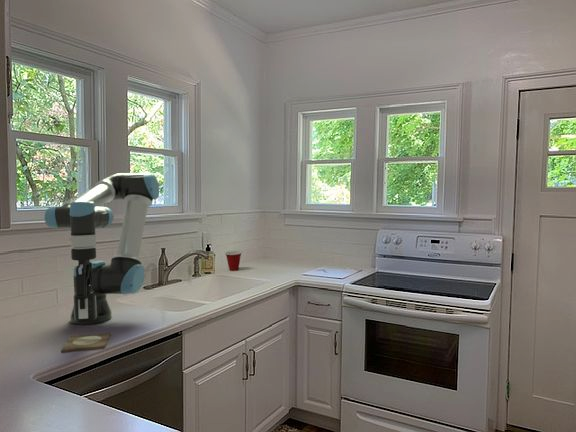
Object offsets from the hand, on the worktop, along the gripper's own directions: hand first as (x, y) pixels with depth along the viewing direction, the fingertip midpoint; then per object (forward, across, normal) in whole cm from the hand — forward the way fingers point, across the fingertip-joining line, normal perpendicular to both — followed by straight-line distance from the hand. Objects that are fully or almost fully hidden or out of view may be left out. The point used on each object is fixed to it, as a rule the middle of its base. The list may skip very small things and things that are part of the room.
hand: (85, 315), depth 148 cm
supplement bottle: (+2, 0, 0) cm, 2 cm away
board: (+10, 0, 0) cm, 10 cm away
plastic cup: (+8, -123, +65) cm, 140 cm away
